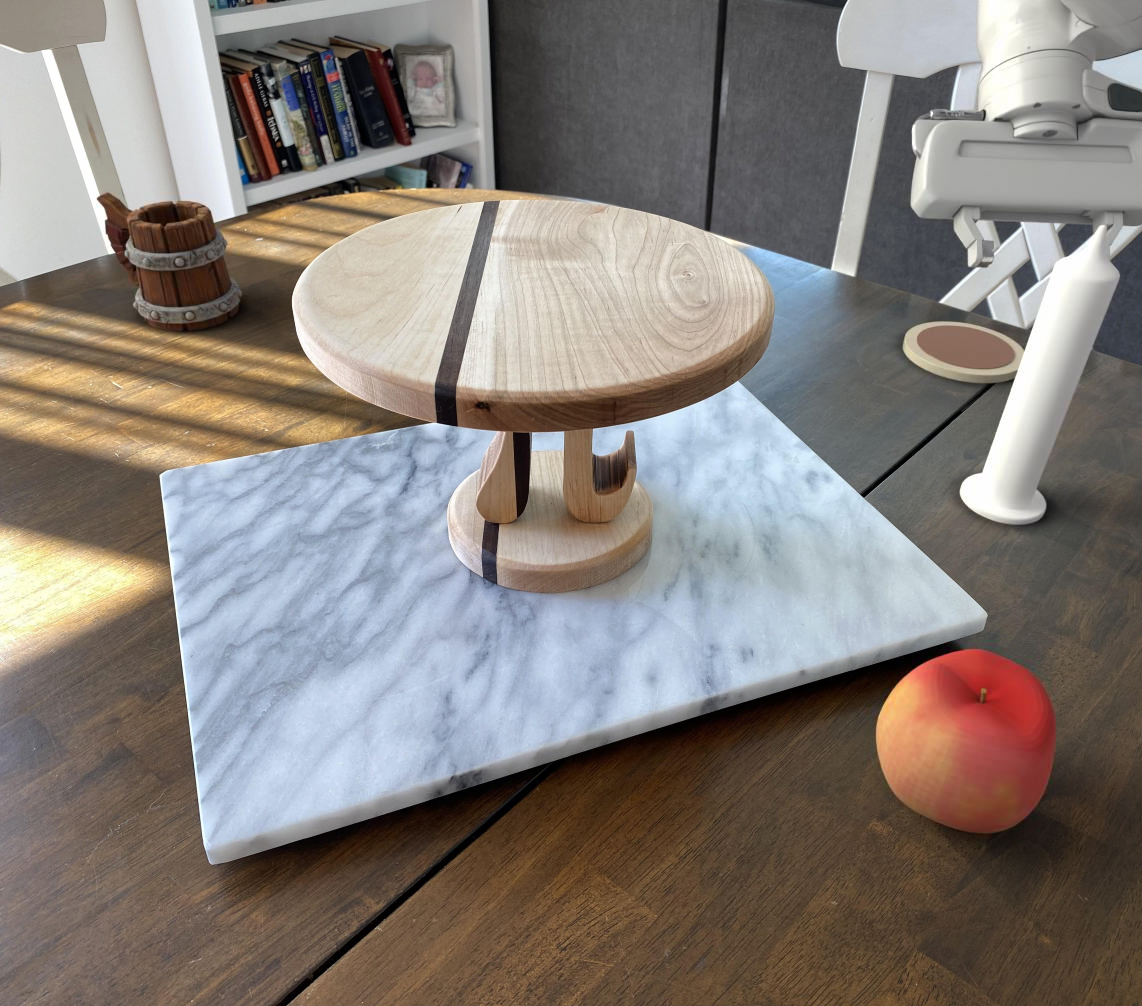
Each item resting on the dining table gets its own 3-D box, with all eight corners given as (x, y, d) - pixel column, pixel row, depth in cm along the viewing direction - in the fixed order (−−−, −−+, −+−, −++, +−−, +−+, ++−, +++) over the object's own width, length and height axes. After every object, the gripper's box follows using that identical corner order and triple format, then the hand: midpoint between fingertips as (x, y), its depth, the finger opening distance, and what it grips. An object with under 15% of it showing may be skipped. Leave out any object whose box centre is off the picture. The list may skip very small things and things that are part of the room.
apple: (914, 713, 63) (953, 603, 57) (1052, 803, 57) (1111, 692, 51) (831, 793, 58) (865, 682, 52) (974, 901, 52) (1030, 790, 46)
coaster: (970, 324, 112) (973, 314, 111) (1049, 374, 102) (1053, 363, 101) (879, 339, 108) (881, 328, 107) (951, 392, 98) (955, 382, 97)
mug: (208, 341, 103) (156, 205, 95) (110, 340, 108) (53, 211, 100) (269, 300, 112) (227, 173, 104) (177, 300, 117) (129, 179, 109)
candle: (1060, 509, 82) (1177, 231, 67) (1011, 536, 79) (1123, 250, 64) (991, 470, 87) (1086, 202, 72) (942, 494, 83) (1031, 219, 68)
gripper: (924, 87, 77) (925, 246, 75) (1177, 95, 76) (1185, 256, 74) (899, 128, 83) (899, 276, 81) (1132, 137, 82) (1138, 286, 80)
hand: (1038, 267), depth 78 cm, fingers open, 8 cm apart
